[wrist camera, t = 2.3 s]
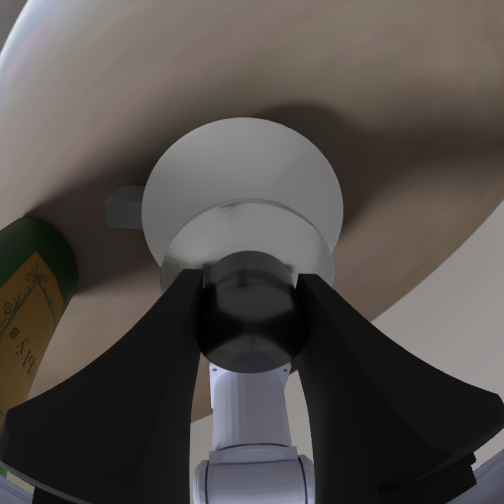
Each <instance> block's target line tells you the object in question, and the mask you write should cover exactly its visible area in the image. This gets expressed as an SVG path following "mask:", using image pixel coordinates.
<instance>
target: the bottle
mask: <svg viewBox="0 0 504 504" xmlns="http://www.w3.org/2000/svg"><path fill="white" fill-rule="evenodd" d="M77 280H78V275H77V271H76V267H75V263H74V259H73V254H72V253H71V252H70V250H69V249H68V247H67V246H66V244H65V243H64V241H63V240H62V238H61V237H60V235H59V234H58V232H57V231H55V230H54V229H52V228H51V227H49V226H48V225H46V224H45V223H43V222H42V221H41V220H39V219H38V218H19V219H17V220H16V221H14V222H13V223H11V224H10V225H8V226H7V227H5V228H4V229H2V230H1V231H0V428H1V425H2V423H3V420H4V418H5V415H6V413H7V411H8V409H11V408H13V407H15V406H18V405H20V404H22V403H24V402H26V399H27V396H28V393H29V391H30V388H31V385H32V383H33V380H34V377H35V375H36V372H37V370H38V367H39V365H40V363H41V360H42V358H43V356H44V353H45V351H46V349H47V347H48V344H49V342H50V340H51V338H52V336H53V334H54V331H55V329H56V327H57V325H58V323H59V321H60V319H61V317H62V315H63V313H64V311H65V310H66V308H67V306H68V304H69V302H70V300H71V298H72V296H73V294H74V291H75V287H76V284H77ZM0 474H1V475H2V476H4V477H5V478H6V474H7V470H6V469H4V468H3V467H1V466H0Z"/></svg>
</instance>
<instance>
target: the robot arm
mask: <svg viewBox="0 0 504 504" xmlns="http://www.w3.org/2000/svg"><path fill="white" fill-rule="evenodd" d="M295 290H296V293H297V297H298V300H299V303H300V307H301V310H302V313H303V317H304V320H305V323H306V327H307V340H306V343H305V346H304V347H303V349H302V351H301V352H300V353H299V354H298V355H297V356H296V357H295V361H296V365H297V369H298V372H299V376H300V380H301V384H302V388H303V391H304V395H305V399H306V404H307V408H308V414H309V422H310V430H311V438H312V448H313V459H314V464H313V462H312V461H311V460H310V459H309V458H307V457H306V456H305V455H303V454H302V455H298V453H297V448H296V447H292V443H291V435H290V429H289V423H288V416H287V410H286V404H285V397H284V388H285V385H286V382H287V379H288V376H289V372H290V369H291V363H290V362H289V363H287V364H285V365H283V366H281V367H279V368H277V369H274V370H271V371H267V372H262V373H251V374H247V373H236V372H232V371H228V370H225V369H222V368H220V367H218V366H216V365H214V364H213V363H210V387H211V407H212V408H213V409H214V412H213V451H210V452H209V460H203V461H201V463H200V464H198V465H197V467H196V469H195V473H194V481H193V496H194V503H195V504H504V449H503V450H501V451H500V452H499V453H497V454H496V455H495V456H493V457H492V458H491V459H489V460H488V461H486V462H485V463H484V464H482V465H481V466H480V467H479V468H477V469H476V470H475V471H473V470H472V468H471V465H472V464H473V463H475V461H476V458H475V455H474V453H473V452H475V451H476V450H477V449H479V448H480V447H481V446H482V445H484V444H485V443H487V442H488V441H489V440H490V439H492V438H493V437H494V436H495V435H496V434H498V433H499V432H500V431H501V430H502V429H503V428H504V403H503V401H502V400H501V398H500V397H499V395H498V394H495V393H492V392H489V391H487V390H483V389H481V388H478V387H475V386H473V385H470V384H468V383H465V382H463V381H461V380H458V379H456V378H454V377H452V376H450V375H448V374H446V373H444V372H442V371H440V370H438V369H436V368H435V367H433V366H431V365H429V364H428V363H426V362H424V361H422V360H421V359H419V358H417V357H416V356H414V355H413V354H411V353H410V352H408V351H407V350H405V349H404V348H403V347H401V346H399V345H398V344H397V343H395V342H394V341H393V340H391V339H390V338H389V337H387V336H386V335H385V334H383V333H382V332H381V331H379V330H378V329H377V328H376V327H375V326H373V325H372V324H371V323H370V322H369V321H368V320H366V319H365V318H364V317H363V316H362V315H361V314H360V313H358V312H357V311H356V310H355V309H354V308H353V307H352V306H351V305H350V304H349V303H348V302H346V301H345V300H344V299H343V298H342V297H341V296H340V295H339V294H338V293H337V292H336V291H335V290H334V289H333V288H332V287H331V286H330V285H329V284H328V283H326V282H325V281H324V280H323V279H322V278H321V277H320V276H319V275H317V274H308V273H299V274H298V279H297V284H296V288H295ZM202 297H203V269H185V268H184V269H183V270H182V271H181V272H180V273H179V274H178V276H177V277H176V278H175V280H174V281H173V282H172V284H171V285H170V286H169V287H168V289H167V290H166V291H165V292H164V294H163V295H162V296H161V297H160V298H159V299H158V300H157V302H156V303H155V304H154V305H153V306H152V307H151V309H150V310H149V311H148V312H147V313H146V314H145V315H144V316H143V317H142V318H141V319H140V320H139V321H138V322H137V323H136V324H135V325H134V326H133V327H132V328H131V329H130V330H129V331H128V332H127V333H126V334H125V335H124V336H123V337H122V338H121V339H120V340H118V341H117V342H116V343H115V344H114V345H113V346H112V347H110V348H109V349H108V350H107V351H106V352H104V353H103V354H102V355H100V356H99V357H98V358H97V359H95V360H94V361H93V362H91V363H90V364H89V365H87V366H86V367H85V368H83V369H82V370H80V371H79V372H77V373H76V374H74V375H73V376H71V377H70V378H68V379H67V380H65V381H63V382H62V383H60V384H58V385H57V386H55V387H53V388H51V389H50V390H48V391H46V392H44V393H42V394H41V395H38V396H36V397H34V398H32V399H30V400H28V401H26V402H24V403H22V404H20V405H18V406H15V407H13V408H11V409H8V411H7V413H6V415H5V418H4V420H3V423H2V425H1V428H0V466H1V467H3V468H4V469H6V470H7V471H9V472H10V473H12V474H14V475H15V476H17V477H19V478H20V479H22V480H24V481H25V482H27V483H29V484H31V485H32V486H35V489H34V494H31V493H30V492H28V491H26V490H24V489H22V488H20V487H19V486H17V485H15V484H13V483H12V482H10V481H9V480H7V478H5V477H4V476H2V475H1V474H0V504H190V489H189V454H190V453H189V452H190V423H191V409H192V400H193V394H194V388H195V382H196V377H197V371H198V365H199V360H200V354H201V350H200V348H199V345H198V328H199V320H200V312H201V304H202Z"/></svg>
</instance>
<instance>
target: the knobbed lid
mask: <svg viewBox="0 0 504 504" xmlns="http://www.w3.org/2000/svg"><path fill="white" fill-rule="evenodd" d="M184 268H185V269H203V297H202V304H201V312H200V320H199V328H198V345H199V348H200V350H201V352H202V354H203V355H204V356H205V357H206V358H207V359H208V360H209V361H210V362H211V363H213V364H214V365H216V366H218V367H220V368H222V369H225V370H228V371H232V372H236V373H247V374H251V373H262V372H267V371H271V370H274V369H277V368H279V367H281V366H283V365H285V364H287V363H289V362H290V361H292V360H293V359H294V358H295V357H296V356H297V355H298V354H299V353H300V352H301V351H302V349H303V347H304V346H305V343H306V340H307V327H306V323H305V320H304V317H303V313H302V310H301V307H300V303H299V300H298V297H297V293H296V290H295V288H296V284H297V279H298V274H299V273H308V274H317V275H319V276H320V277H321V278H322V279H323V280H324V281H325V282H326V283H328V284H329V285H330V286H331V287H332V288H333V285H334V277H335V270H334V262H333V258H332V255H331V252H330V250H329V248H328V245H327V244H326V242H325V240H324V239H323V237H322V236H321V234H320V233H319V231H318V230H317V228H316V227H315V226H314V225H313V224H312V223H311V222H310V220H308V219H307V218H306V217H305V216H303V215H302V214H301V213H299V212H298V211H296V210H294V209H293V208H291V207H288V206H286V205H284V204H281V203H278V202H275V201H271V200H266V199H258V198H240V199H232V200H227V201H223V202H220V203H216V204H214V205H212V206H209V207H207V208H205V209H203V210H201V211H200V212H198V213H196V214H195V215H194V216H192V217H191V218H190V219H188V220H187V221H186V222H185V223H184V224H183V225H182V226H181V227H180V228H179V230H178V231H177V232H176V234H175V235H174V237H173V238H172V240H171V242H170V244H169V246H168V249H167V251H166V253H165V256H164V259H163V263H162V266H161V274H160V282H161V290H162V294H164V292H165V291H166V290H167V289H168V287H169V286H170V285H171V284H172V282H173V281H174V280H175V278H176V277H177V276H178V274H179V273H180V272H181V271H182V270H183V269H184Z"/></svg>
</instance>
